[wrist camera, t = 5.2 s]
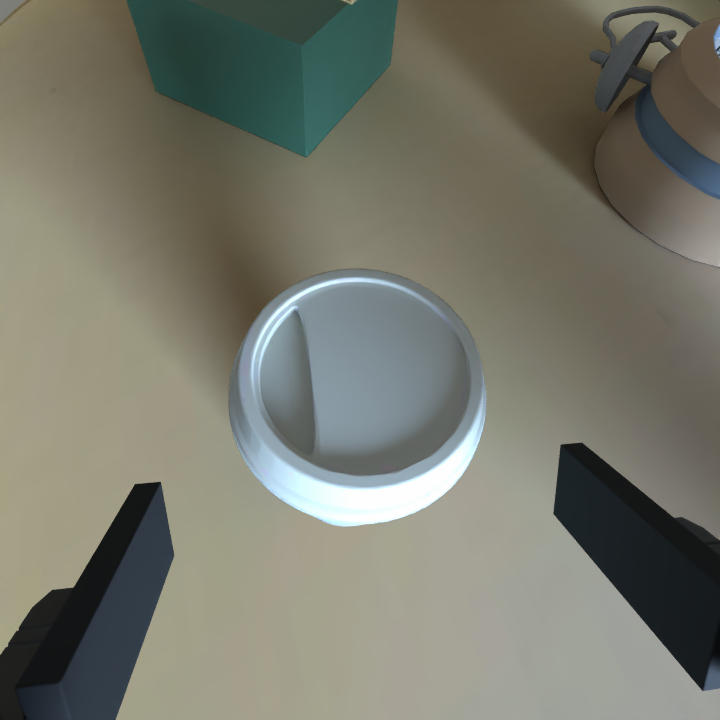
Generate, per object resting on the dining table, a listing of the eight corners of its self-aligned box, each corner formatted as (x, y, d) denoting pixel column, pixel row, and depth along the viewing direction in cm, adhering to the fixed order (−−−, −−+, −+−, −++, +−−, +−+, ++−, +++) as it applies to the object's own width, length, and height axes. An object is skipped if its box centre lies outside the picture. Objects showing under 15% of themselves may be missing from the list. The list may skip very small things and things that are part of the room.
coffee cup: (310, 371, 27) (300, 221, 17) (449, 431, 26) (533, 312, 16) (232, 510, 24) (156, 430, 13) (390, 588, 22) (449, 570, 12)
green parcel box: (153, 90, 38) (113, -33, 31) (254, 11, 44) (240, -107, 37) (309, 158, 36) (305, 42, 28) (392, 65, 42) (407, -50, 34)
